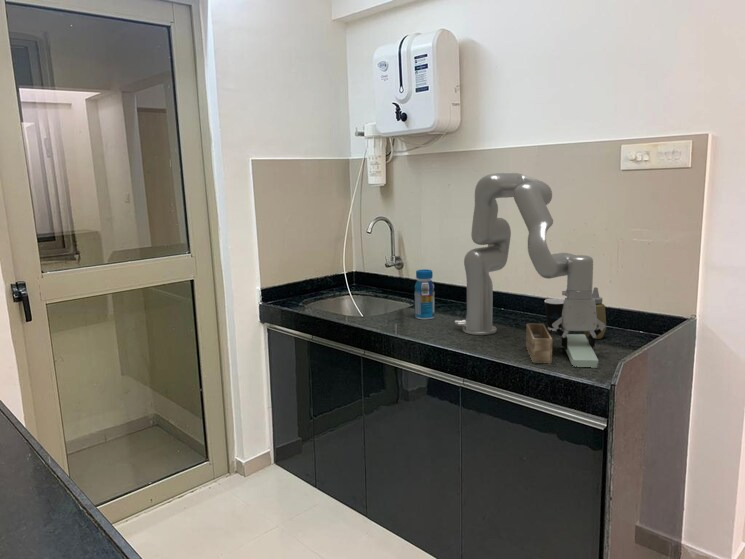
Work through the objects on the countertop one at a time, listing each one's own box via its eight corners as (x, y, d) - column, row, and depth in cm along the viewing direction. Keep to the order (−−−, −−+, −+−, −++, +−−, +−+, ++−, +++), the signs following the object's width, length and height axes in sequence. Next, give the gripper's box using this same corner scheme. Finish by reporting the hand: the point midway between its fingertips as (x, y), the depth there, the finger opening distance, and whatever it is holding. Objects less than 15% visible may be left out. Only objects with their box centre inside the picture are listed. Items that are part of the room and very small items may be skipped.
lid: (573, 367, 170) (573, 360, 170) (561, 340, 189) (562, 334, 189) (597, 367, 169) (598, 360, 169) (584, 341, 188) (584, 334, 187)
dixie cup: (551, 333, 208) (552, 304, 206) (539, 327, 215) (540, 299, 213) (569, 330, 210) (570, 302, 208) (557, 325, 218) (557, 297, 216)
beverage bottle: (410, 318, 236) (409, 271, 232) (422, 314, 242) (421, 268, 239) (427, 321, 230) (426, 272, 227) (438, 316, 237) (438, 270, 233)
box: (532, 363, 175) (532, 338, 173) (525, 346, 193) (526, 323, 191) (551, 364, 174) (552, 339, 172) (543, 346, 192) (543, 323, 190)
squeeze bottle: (577, 334, 205) (579, 286, 202) (599, 333, 206) (601, 285, 202) (588, 340, 197) (590, 290, 194) (610, 339, 198) (612, 289, 194)
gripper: (552, 297, 176) (551, 351, 179) (611, 297, 173) (609, 352, 176) (549, 292, 183) (548, 345, 186) (605, 292, 180) (603, 345, 183)
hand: (577, 348), depth 181 cm, fingers closed on lid, 7 cm apart
